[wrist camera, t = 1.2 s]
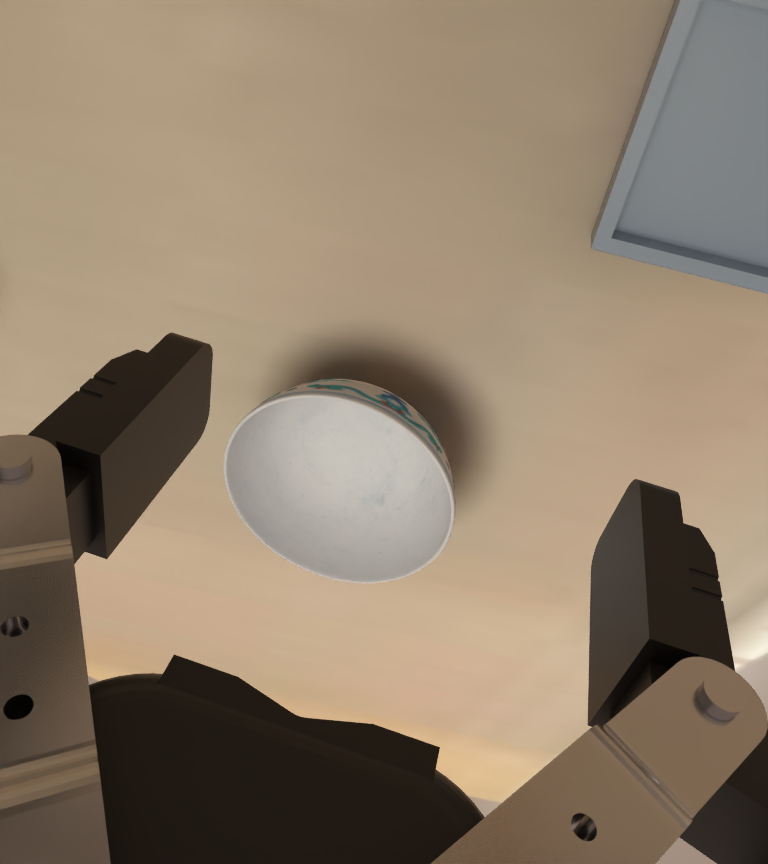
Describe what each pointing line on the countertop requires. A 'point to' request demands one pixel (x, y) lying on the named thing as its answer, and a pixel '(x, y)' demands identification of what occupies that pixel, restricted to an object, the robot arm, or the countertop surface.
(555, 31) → the countertop surface
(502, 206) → the countertop surface
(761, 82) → the tray
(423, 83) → the countertop surface
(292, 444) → the chinaware
